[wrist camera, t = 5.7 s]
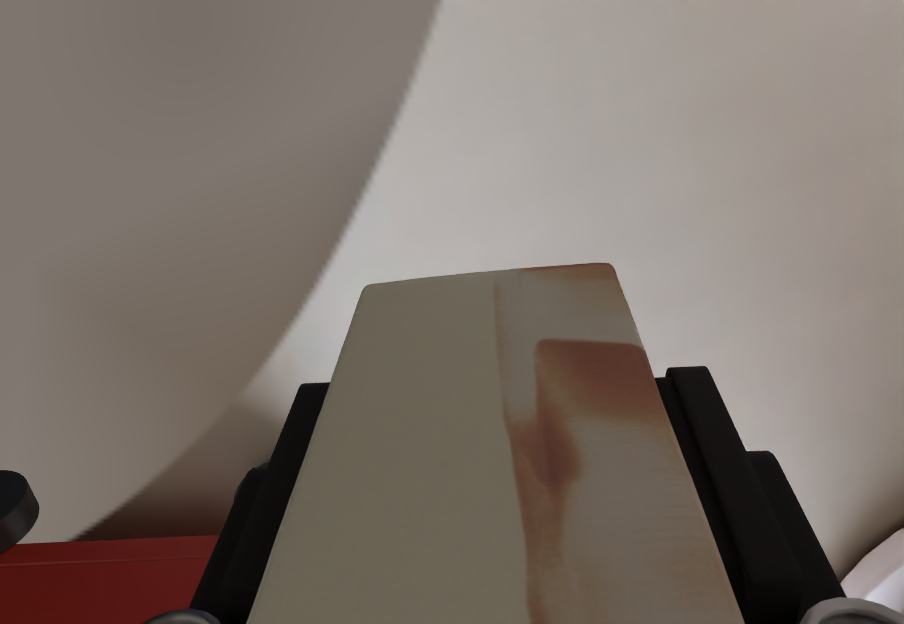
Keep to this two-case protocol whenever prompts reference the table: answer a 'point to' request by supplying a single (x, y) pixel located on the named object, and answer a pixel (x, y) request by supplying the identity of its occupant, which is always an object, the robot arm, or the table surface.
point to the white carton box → (495, 467)
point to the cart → (91, 570)
